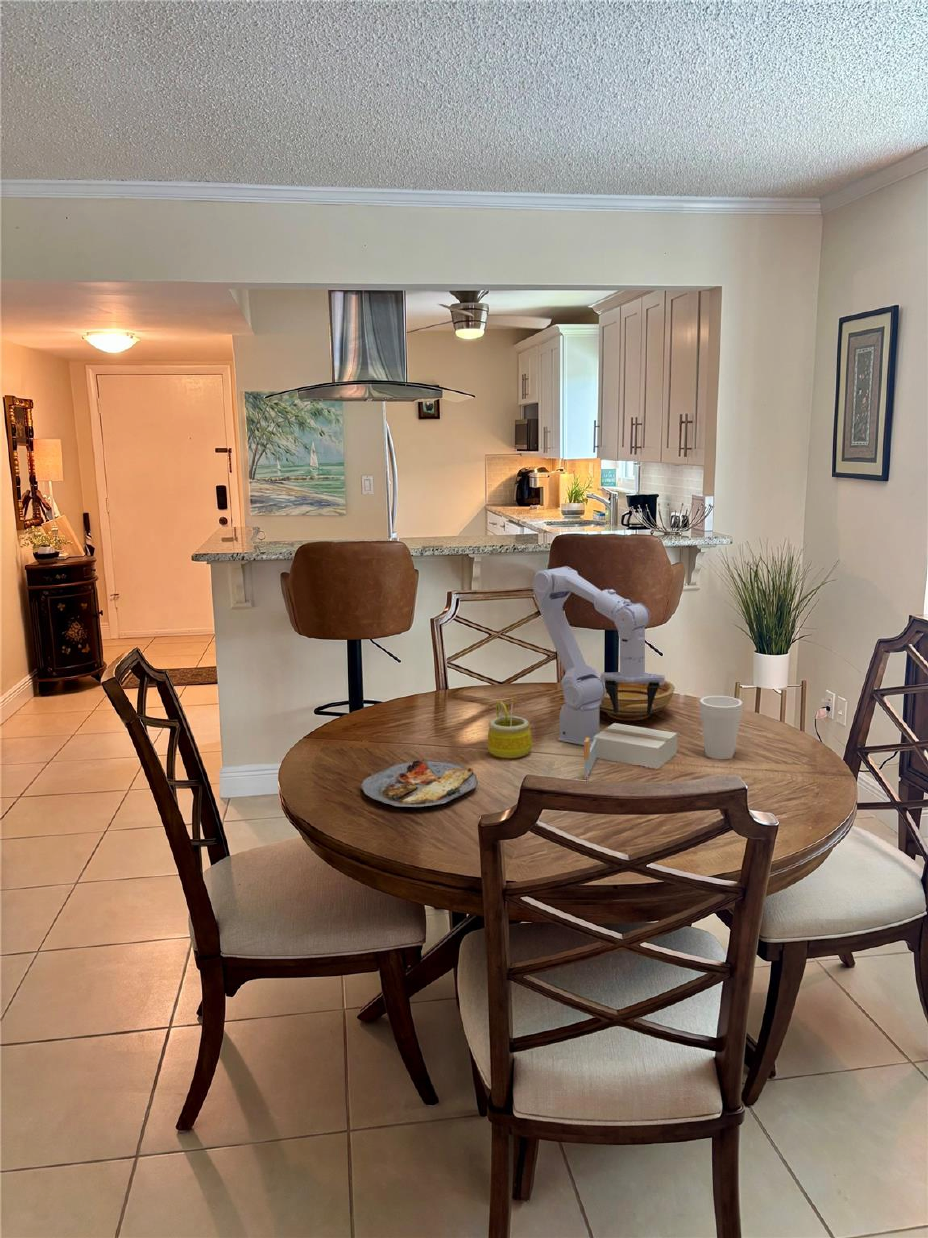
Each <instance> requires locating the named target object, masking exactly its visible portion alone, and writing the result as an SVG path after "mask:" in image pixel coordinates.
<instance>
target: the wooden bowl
mask: <svg viewBox="0 0 928 1238" xmlns="http://www.w3.org/2000/svg"><path fill="white" fill-rule="evenodd" d="M599 677H600V678H601V676H599ZM604 684H605V682H604ZM648 685H649V684H644V683H622V682H618V712H617V713H614V709H613V705H612V702H611V699H610V696H609V694H608V692H607V691H606V695H605V697H604V698H603V699H602V700H601V704H600V705H599V711H602V712H605V713H607V715H608V716H609V717H610V718H612V719H616V720H618V721H619V720H621V721H640V720H644V719H647V718H648V717H650V715H647V704H648V696H647V686H648ZM675 689H676V688H675V685H673V683H672V682H670V681H668V680H665V683H664V685H660V686H659V688H658V690H657V692H656V695H655V697H654V700H653V704H652V709H651V714H654V713H656V712H659V711H661V710H663V709H664V708H666V707H667V706H668V705H669V704H670V702H671V700H672V698H673V695H674V692H675Z"/></svg>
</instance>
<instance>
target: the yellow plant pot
mask: <svg viewBox="0 0 928 1238" xmlns="http://www.w3.org/2000/svg"><path fill="white" fill-rule="evenodd" d="M514 701H515V699H513V698H511V699H510V702H511V705H510V708H511V709H510V715H508V710H507V706H506V705H505V704H504V703H503V702H502V701H500V702H497V703H496V707H495V713H496V717H495V718H493V719H491V720H490V721H489V722H488V733H487V741H486V748H487V750H488V752H489V753H490V754H491V755H492V756H494V757H498V758H501V759H516V758H521V757H524V756H527V755H528V754H529V753H530V752H531V750H532V748H533V745H534V744H533V735H532V732H531V729H530V721H528V720H527V718H523V717H520V716H516V715H513V705H514V704H513V703H514ZM499 713H500V714H499Z"/></svg>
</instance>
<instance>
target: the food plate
mask: <svg viewBox="0 0 928 1238" xmlns="http://www.w3.org/2000/svg"><path fill="white" fill-rule="evenodd" d="M478 783H479V781H478V780H477V774H476V773H474V769H473V768H470V767H469V768H468V767H465V766H462V765H459V764H458V763H455V762H449V761H442V760H439V761H437V760H436V761H435V760H425V759H421V760H413V761H412V762H405V763H402V764H394V765H392V766H389V767H387V768H385V769H383V770H380V771H378V772H376V773H373V774H372V775H370V776H367V777H366V778H365V779H364V780H363V781H362V782H361V790H363V792H364V794H365V795H367V796H368V797H369V798H371V799H372V800H376V801H377V802H382V804H386V805H387V804H389V805H391V806H393V807H406V808H407V807H411V808H413V807H414V808H416V809H417V808H421V807H427V806H435V805H441V804H446V803H447V802H450V801H452V800H453V799H455V798H459V797H460V796H462V795H464V794H466V793H468V792H469V791H471V790H473V789H475V788H476V787H477V786H478ZM391 785H394V787H393V788H392V787H389V789H390V790H387V792H386V796H388V798H387V797H385V796H384V794H383V792H384V790H385V789H386V788H387V787H388V786H391ZM407 796H408V797H407ZM405 797H406V798H405ZM403 798H404V799H403ZM400 799H403V800H401V802H399V801H397V800H400ZM394 800H395V801H394Z"/></svg>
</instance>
